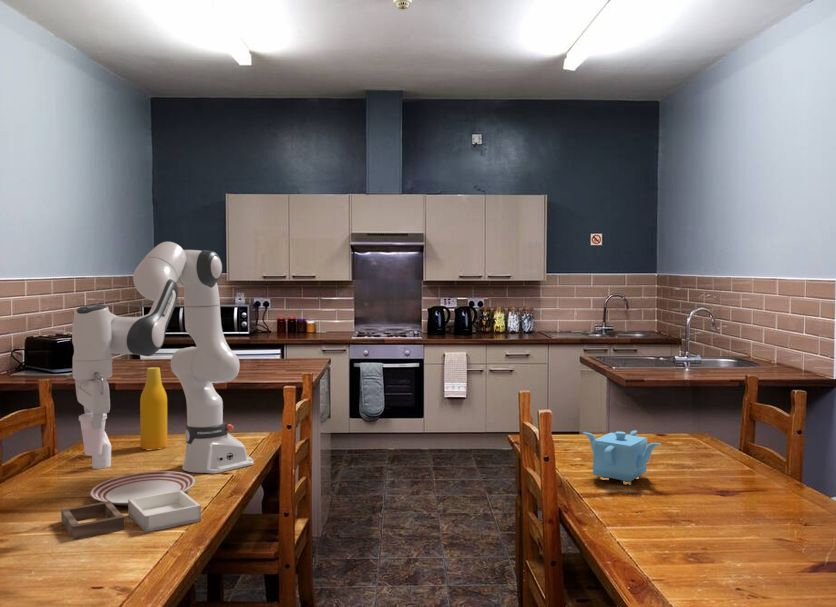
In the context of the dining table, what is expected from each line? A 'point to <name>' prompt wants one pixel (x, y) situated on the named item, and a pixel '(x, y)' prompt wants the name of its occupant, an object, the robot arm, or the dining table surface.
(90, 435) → the smoothie
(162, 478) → the dinner plate
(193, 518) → the tray
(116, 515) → the socket block
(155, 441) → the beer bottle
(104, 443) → the white tapered bottle
